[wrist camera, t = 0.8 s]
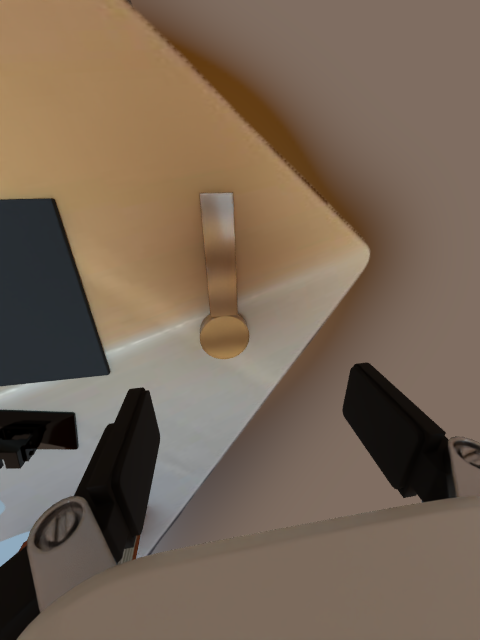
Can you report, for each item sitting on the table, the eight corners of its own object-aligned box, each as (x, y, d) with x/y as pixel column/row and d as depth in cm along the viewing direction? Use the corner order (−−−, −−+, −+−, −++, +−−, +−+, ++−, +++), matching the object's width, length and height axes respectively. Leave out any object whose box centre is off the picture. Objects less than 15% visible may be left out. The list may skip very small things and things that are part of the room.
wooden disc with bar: (184, 195, 23) (182, 193, 20) (244, 194, 24) (249, 191, 21) (202, 353, 31) (202, 367, 28) (247, 348, 32) (251, 362, 29)
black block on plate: (-21, 445, 33) (-54, 480, 28) (-34, 405, 30) (-73, 437, 26) (78, 447, 35) (61, 479, 31) (74, 410, 32) (55, 440, 28)
